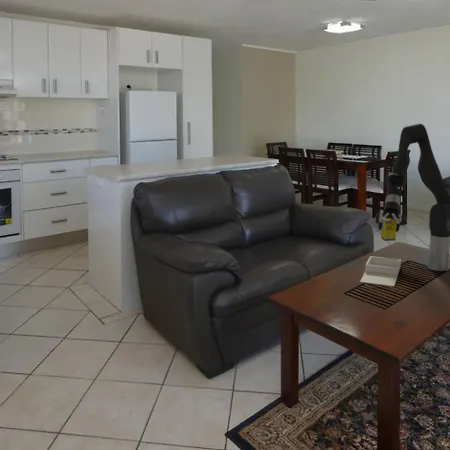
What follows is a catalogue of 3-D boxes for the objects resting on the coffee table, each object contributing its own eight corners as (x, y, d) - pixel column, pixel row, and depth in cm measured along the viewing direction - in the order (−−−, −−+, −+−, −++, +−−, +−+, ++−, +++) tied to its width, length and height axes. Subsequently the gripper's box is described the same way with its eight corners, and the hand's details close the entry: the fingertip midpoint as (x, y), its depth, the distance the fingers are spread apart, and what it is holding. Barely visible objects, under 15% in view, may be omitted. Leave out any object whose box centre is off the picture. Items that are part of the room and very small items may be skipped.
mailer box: (400, 266, 239) (401, 259, 238) (393, 286, 212) (394, 278, 211) (370, 263, 245) (370, 256, 244) (359, 282, 218) (360, 274, 217)
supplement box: (395, 240, 245) (397, 220, 242) (384, 241, 245) (385, 220, 243) (392, 237, 251) (393, 217, 248) (380, 238, 251) (381, 218, 248)
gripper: (378, 200, 253) (373, 225, 246) (406, 201, 247) (402, 227, 240) (378, 207, 259) (374, 233, 252) (406, 209, 253) (403, 235, 245)
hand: (388, 230), depth 246 cm, fingers closed on supplement box, 7 cm apart
